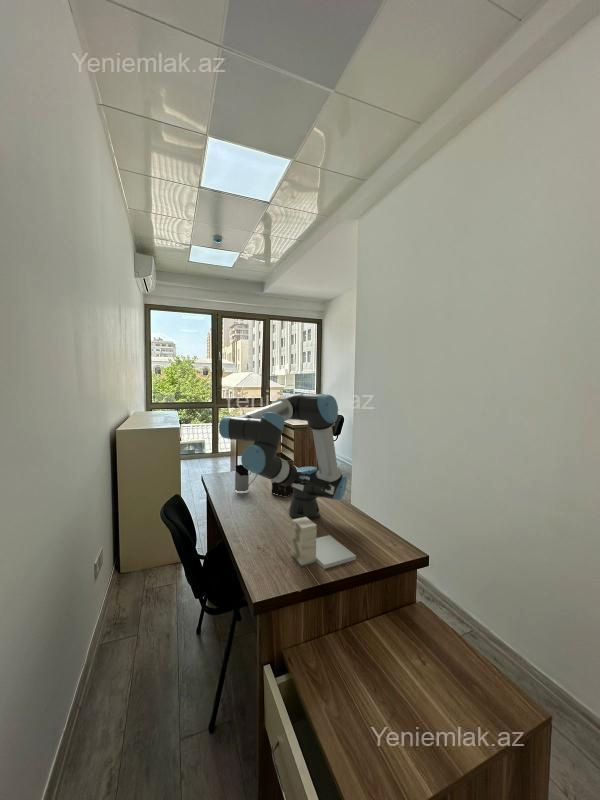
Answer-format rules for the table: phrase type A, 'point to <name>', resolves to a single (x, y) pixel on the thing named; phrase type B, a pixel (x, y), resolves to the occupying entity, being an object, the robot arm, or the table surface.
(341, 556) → the pad
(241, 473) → the glass mug
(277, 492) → the candle
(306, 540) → the birch block
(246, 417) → the robot arm
